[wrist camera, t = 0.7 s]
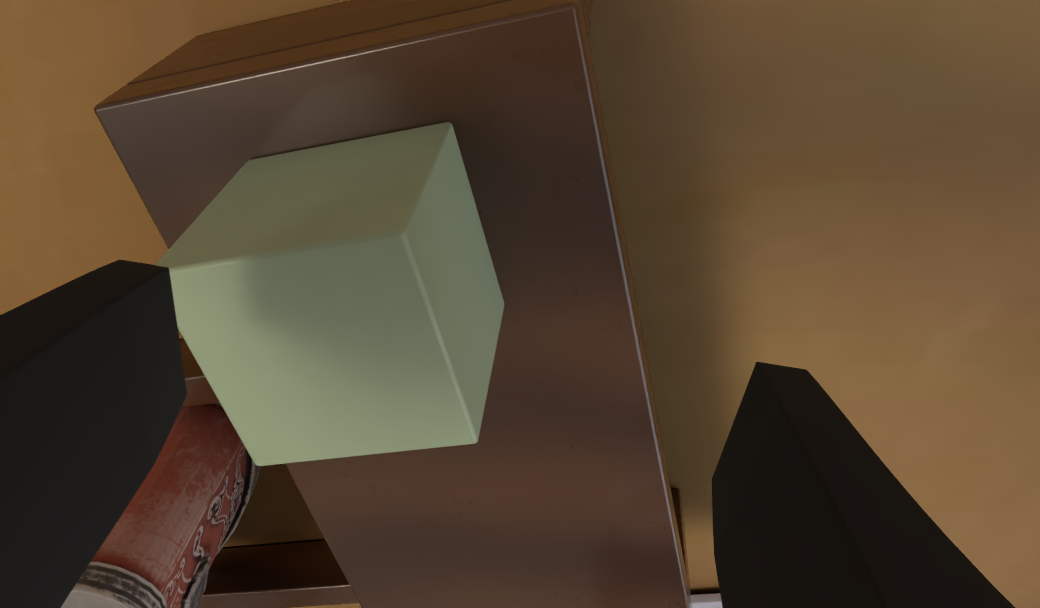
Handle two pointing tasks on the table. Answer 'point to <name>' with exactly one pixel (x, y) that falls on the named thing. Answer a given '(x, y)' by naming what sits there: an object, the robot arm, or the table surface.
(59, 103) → the table surface
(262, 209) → the sage block
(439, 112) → the wooden display riser
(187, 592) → the lighter
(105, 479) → the robot arm
